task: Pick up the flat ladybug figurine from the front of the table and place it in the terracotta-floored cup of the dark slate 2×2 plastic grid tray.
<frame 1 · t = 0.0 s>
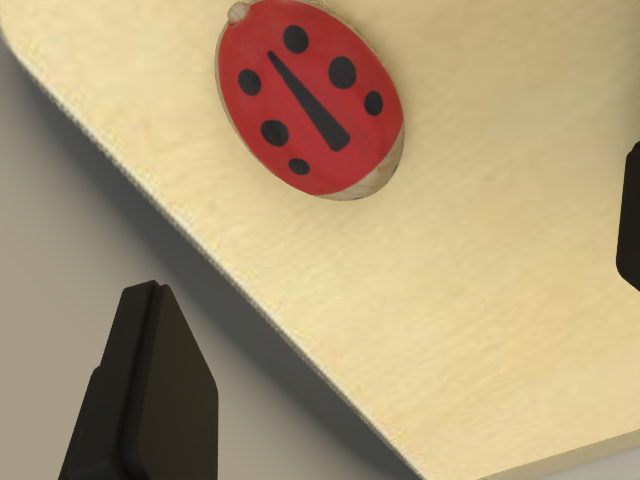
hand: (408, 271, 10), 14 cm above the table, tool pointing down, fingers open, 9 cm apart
ladybug figurine: (310, 101, 22), on the table
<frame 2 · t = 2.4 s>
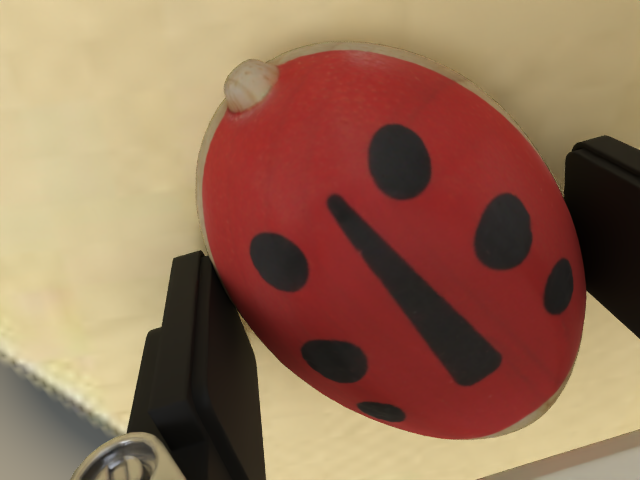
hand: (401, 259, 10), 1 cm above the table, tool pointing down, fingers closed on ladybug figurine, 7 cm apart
ladybug figurine: (387, 234, 11), on the table, touching gripper
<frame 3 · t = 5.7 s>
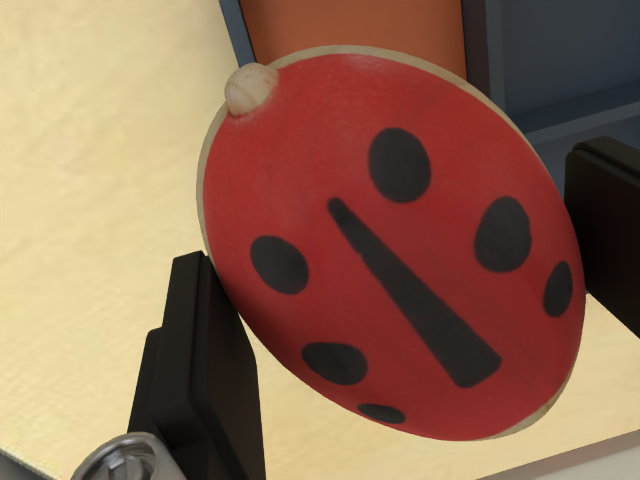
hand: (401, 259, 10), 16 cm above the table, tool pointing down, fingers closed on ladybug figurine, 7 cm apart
grid: (472, 129, 26), on the table
ladybug figurine: (387, 235, 11), point 14 cm above the table, touching gripper
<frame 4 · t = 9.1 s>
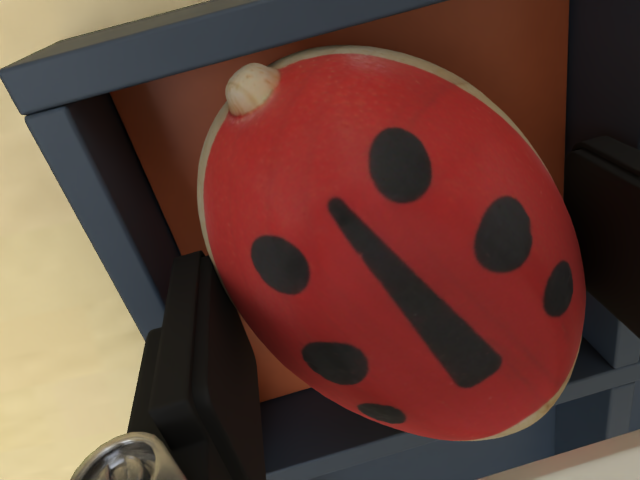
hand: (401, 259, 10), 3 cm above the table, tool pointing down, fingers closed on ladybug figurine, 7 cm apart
grid: (557, 305, 16), on the table
ladybug figurine: (387, 235, 11), point 2 cm above the table, touching gripper
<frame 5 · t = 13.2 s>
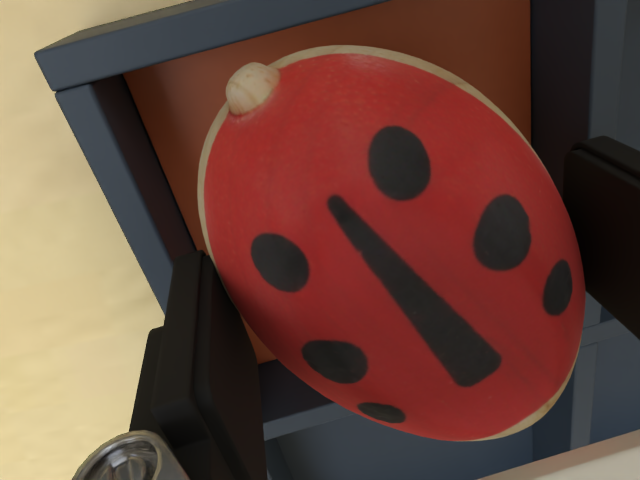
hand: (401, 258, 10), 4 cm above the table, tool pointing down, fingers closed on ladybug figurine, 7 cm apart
grid: (531, 277, 17), on the table
ladybug figurine: (387, 236, 11), point 3 cm above the table, touching gripper
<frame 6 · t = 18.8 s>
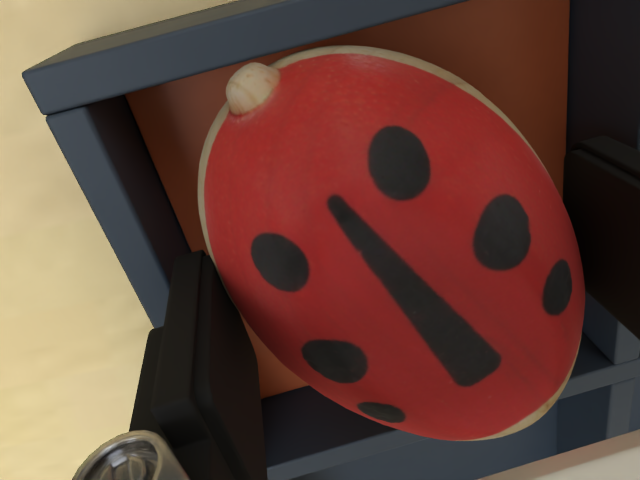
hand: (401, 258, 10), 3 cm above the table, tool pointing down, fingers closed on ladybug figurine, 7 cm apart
grid: (558, 302, 16), on the table
ladybug figurine: (387, 236, 11), point 2 cm above the table, touching gripper
when the fingers open (4 cm above the table, at t = 24.0 s): ladybug figurine drops 3 cm, resting on grid.
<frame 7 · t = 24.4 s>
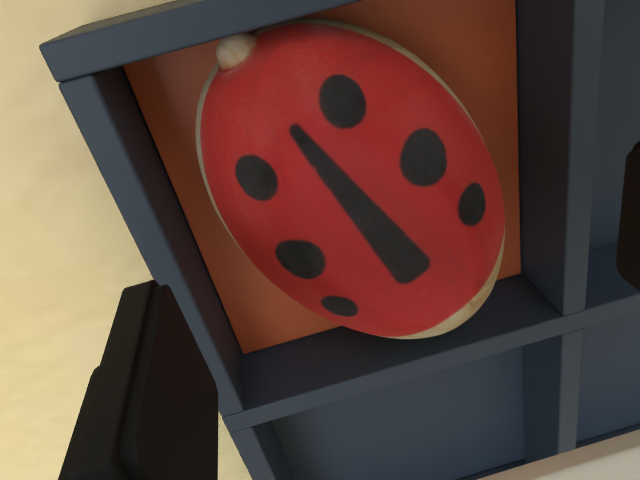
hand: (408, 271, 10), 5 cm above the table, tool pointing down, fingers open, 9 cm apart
grid: (520, 267, 17), on the table
ladybug figurine: (351, 179, 14), point 1 cm above the table, touching grid
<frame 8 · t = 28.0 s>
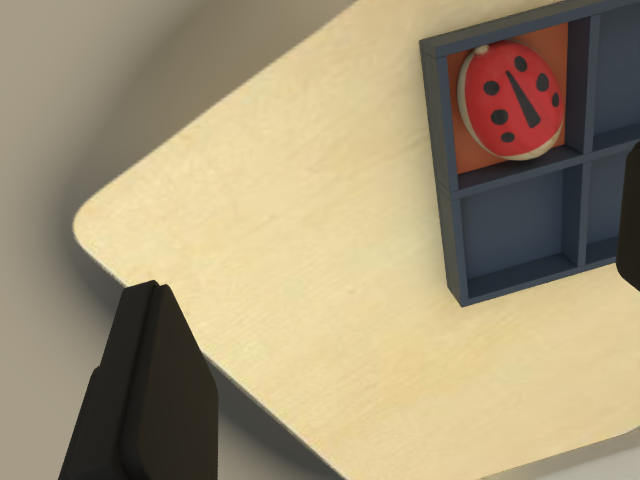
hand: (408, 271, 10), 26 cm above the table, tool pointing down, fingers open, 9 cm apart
grid: (563, 144, 39), on the table
ladybug figurine: (501, 98, 36), point 1 cm above the table, touching grid
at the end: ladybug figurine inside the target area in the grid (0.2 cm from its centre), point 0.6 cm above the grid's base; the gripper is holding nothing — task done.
